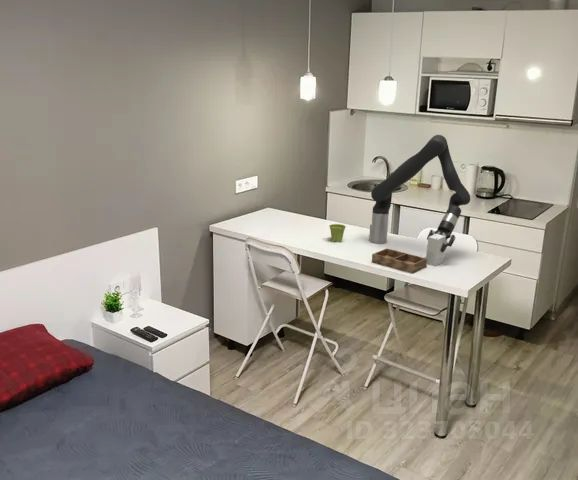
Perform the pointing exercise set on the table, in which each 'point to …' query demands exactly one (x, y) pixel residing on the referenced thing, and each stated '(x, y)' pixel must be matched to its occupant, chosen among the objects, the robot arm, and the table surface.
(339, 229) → the plant pot
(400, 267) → the divided wooden tray
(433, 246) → the skincare box
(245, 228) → the table surface
